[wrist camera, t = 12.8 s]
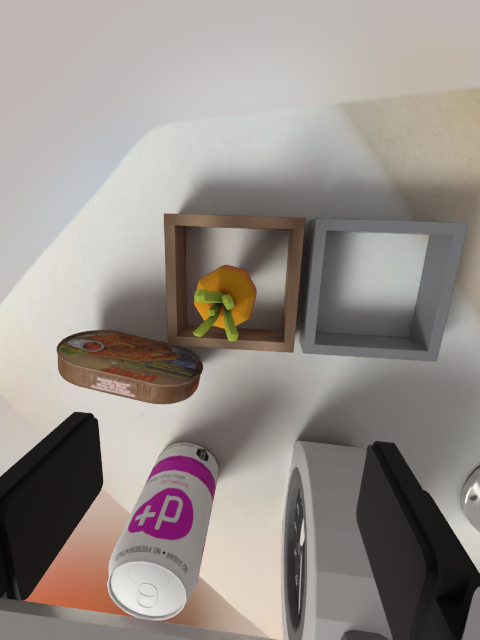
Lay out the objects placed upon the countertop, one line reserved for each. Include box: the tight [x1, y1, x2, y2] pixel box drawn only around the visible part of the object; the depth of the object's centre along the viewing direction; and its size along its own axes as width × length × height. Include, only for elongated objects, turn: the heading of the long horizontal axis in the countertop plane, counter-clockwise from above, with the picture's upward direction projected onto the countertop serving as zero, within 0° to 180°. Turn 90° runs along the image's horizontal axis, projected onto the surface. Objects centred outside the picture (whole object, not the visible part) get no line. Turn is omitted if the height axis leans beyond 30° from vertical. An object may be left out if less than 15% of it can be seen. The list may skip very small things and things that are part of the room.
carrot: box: [193, 265, 256, 342], centre depth 26 cm, size 5×5×15 cm
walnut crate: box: [164, 214, 305, 353], centre depth 31 cm, size 13×13×4 cm
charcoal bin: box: [299, 218, 468, 361], centre depth 30 cm, size 13×13×4 cm
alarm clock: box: [281, 441, 393, 640], centre depth 30 cm, size 21×8×20 cm, turn 176°
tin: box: [57, 330, 203, 404], centre depth 32 cm, size 15×3×8 cm, turn 77°
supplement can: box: [107, 442, 218, 620], centre depth 33 cm, size 8×8×15 cm
